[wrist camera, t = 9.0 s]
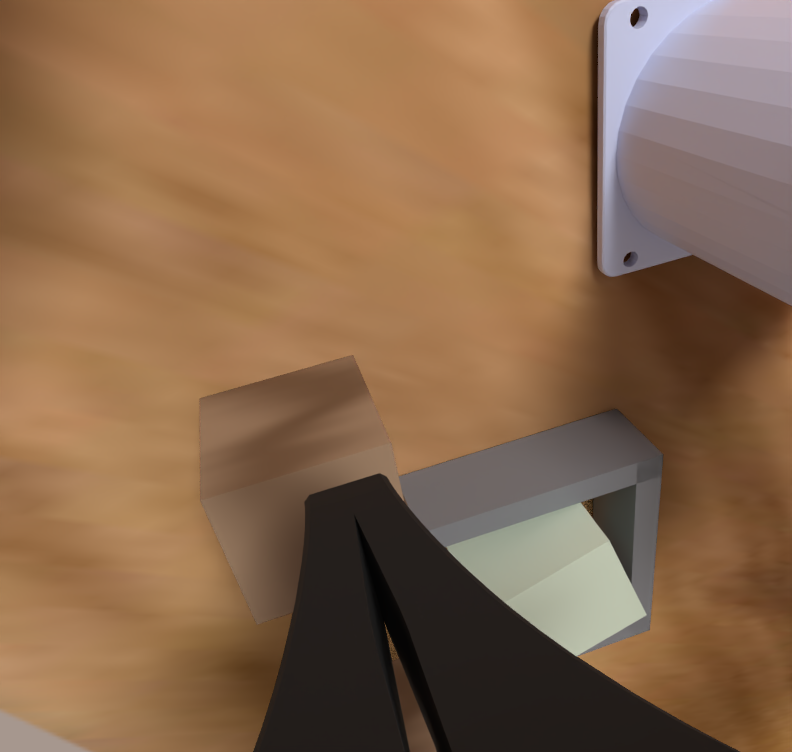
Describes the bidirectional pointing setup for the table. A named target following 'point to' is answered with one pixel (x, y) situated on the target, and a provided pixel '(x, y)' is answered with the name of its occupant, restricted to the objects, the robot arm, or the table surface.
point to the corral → (554, 492)
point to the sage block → (556, 576)
